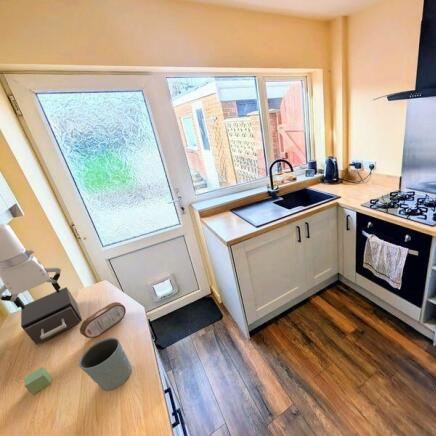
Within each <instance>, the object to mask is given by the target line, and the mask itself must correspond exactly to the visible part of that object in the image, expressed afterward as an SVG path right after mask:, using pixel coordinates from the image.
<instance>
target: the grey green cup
mask: <svg viewBox="0 0 436 436" xmlns="http://www.w3.org/2000/svg"><path fill="white" fill-rule="evenodd" d="M78 367H79V368H80V369H81V370H82V371H83V372H84V373H86V374H87V375H88V376H89V378H90V379H91V380H92V381H93V382H94V383H96V384H97V385H98V387H99V388H101V390H103V391H105V392H107V391H108V392H109V391H113V390H115V389H117V388H119V387H121V386H122V385H123V384H124V383H125V382H126V381H127V380H128V379H129V377H130V376H131V374H132V371H133V370H132V369H133V367H132V364H131V362H130V361H129V358H128V356H127V354H126V352H125V350H124V349H123V346H122V344H121V342H120V340H119V339H118V338H117V337H108V338H104V339H101V340H99V341H97V342H95V343H93V345H91V346H90V347H89V348H87V349H86V350H85V351H84V352H83V354H82V355H81V356H80V358H79V361H78Z"/></svg>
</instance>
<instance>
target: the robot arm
mask: <svg viewBox="0 0 436 436" xmlns="http://www.w3.org/2000/svg"><path fill="white" fill-rule="evenodd" d="M33 254H35V251H34V249H26V248H25V247H24V245H23V244H22V242H21V241H20V239H19V238H18V236H17V235H16V233H15V232H14V230H13V229H12V227H11V226H10V225H9V224H7V223H0V280H1V282H2V283H3V285H2V286H1V287H0V300H1V301H3V302H11V303H13V304H14V305H15V306H16V308H20V310H21V309H24V308H25V305H26V304H25V303H24V302H23V301H22V299H21V298H20V297H19V294H22V293H24V292H27V291H28V290H29V291H30V290H31V289H33V288H37V287H39V286H42V285H43V284H45V283H51V285H52V287H53V289H54V290H55V292H56V291H57V293H59V292H60V291H59V290H61V289H62V287H61V286H60V284H59V282H58V281H59V279H60V277H61V270H62V269H61V267H59V266H58V267H45V266H43V264H42V263H41V261H39V259H38V258H36V256H35V255H33ZM49 273H54V275H53V276H50V275H49ZM5 291H8V292H9V293H10V294H9V295H7V294H3V293H5Z"/></svg>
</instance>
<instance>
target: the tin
mask: <svg viewBox="0 0 436 436" xmlns="http://www.w3.org/2000/svg"><path fill="white" fill-rule="evenodd" d="M126 312H127V309H126V307H125V306H124V304H122V302H119V301H118V302H117V301H115V302H111V303H109V304H107V305H106V306H104V307H102V308H101V309H99V310H97V311H96V312H94V313H93V314H91V315H90V316H88V317H86V318H85V319H84V320H83V322H82V323H81V325H80V327H79V332H80V334H81V336H84V337H85V338H87V339H93V338H97V337H100V336H101V335H102V334H103V333H105V332H107V331H108V330H109V329H111V328H112V327H113V326H115V325H116V324H117V323H119V322H121V321H122V320H123V318H125V315H126Z"/></svg>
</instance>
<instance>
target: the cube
mask: <svg viewBox="0 0 436 436" xmlns="http://www.w3.org/2000/svg"><path fill="white" fill-rule="evenodd" d="M51 384H52V381H51V374H50V373H49V372H48V370H47V369H46V368H45V367H44V366H41V367H39V368H38V369H36V370H34V371H31V373H28V374H27V375H26V376H24V387H25V388H26V390H27V391H28V392H29V393H30V394H31V395H35V394H37V393H38V392H40V391H41V390H43V389H45V388H47V387H48V386H50V385H51Z"/></svg>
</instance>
